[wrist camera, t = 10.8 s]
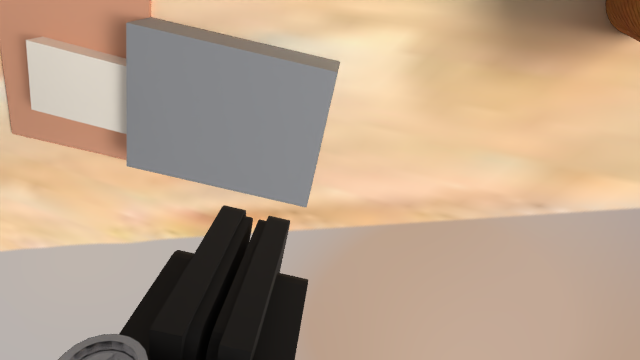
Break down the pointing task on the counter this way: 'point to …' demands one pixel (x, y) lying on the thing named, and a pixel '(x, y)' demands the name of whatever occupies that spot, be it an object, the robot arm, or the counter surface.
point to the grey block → (225, 109)
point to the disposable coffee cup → (625, 16)
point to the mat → (74, 28)
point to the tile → (77, 83)
